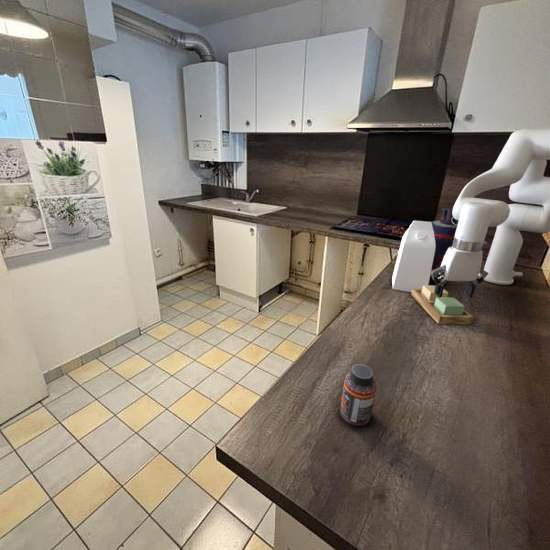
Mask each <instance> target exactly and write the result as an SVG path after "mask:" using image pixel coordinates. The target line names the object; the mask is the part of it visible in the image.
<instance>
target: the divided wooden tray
mask: <svg viewBox="0 0 550 550" xmlns="http://www.w3.org/2000/svg"><path fill="white" fill-rule="evenodd" d="M421 292H422V289H412V292H410V293H411V294H410V295H411V296H412V297H413V299H414V300H415V301H416V302H417V303H418V304H419V305H420V306H421V307H422V308H423V309H424V311H426V312H427V314H428V315H429V316H431V318H432V319H433V320H434V321H435V322H436V323H437V324H438V325H439V324H440V325H472V324H473V322H474V318H475V317H474V316H473V315H472V314H470V312H469V311H467V310H466V309H465V308H464V311H463V314H462V316H461V315H441V314H440V313H439V312H438V311H437V310H436V309H435V308H434V304H435V301H427V300H426V299H425V298H424V297H423V296H422V295H421ZM447 298H451V296H449V295H448V296H447Z"/></svg>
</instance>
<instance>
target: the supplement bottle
mask: <svg viewBox="0 0 550 550" xmlns="http://www.w3.org/2000/svg"><path fill="white" fill-rule="evenodd" d="M343 381H344V382H343V388H342V395H341V400H340V409H339V410H340V415H341V417H342V418H343V420H344V421H345V422H346V423H348V424H350V425H352V426H355V427H361V426H365V425H366V424H368V423H369V422H370V420H371V417H372V411H373V408H374V403H375V399H376V393H377V382H376V379H375V378H374V370H373V369H372V367H370V366H369V365H366V364H363V363H356V364H354V365H352V367H351V369H350V372H348V373H347V374H346V375H345V377H344V380H343Z"/></svg>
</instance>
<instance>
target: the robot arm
mask: <svg viewBox="0 0 550 550" xmlns="http://www.w3.org/2000/svg"><path fill="white" fill-rule="evenodd" d="M547 160H548V161H550V127H533V128H532V127H531V128H521V129H518V130H515V131H513V132H512V133H511V134H510V136H509V138H508V139H507V141H506V143H505V144H504V146H503V148H502V150H501V152H500V153H499V155H498V157H497V159H496V160H495V162H494V163H493V165H492V167H491V168H490V169H489V170H487V171H485V172H482V173H481V174H480V175H478V176H476V177H475V178H473V179H471V180H470V181H469V182H468V183H467V184H466V185H465V186H464V187H463V188H462V190H461V191H460V193H459V195H458V197H457V198H456V200H455V202H454V204H453V207H452V208H453V211H452V215H453V217H454V218H455V219H456V220H458V221H457V223H458V225H457V229H456V233H455V237H454V240H453V244H452V247H449V248H448V250H447V252H446V254H445V256H444V258H443V261H442V264H441V267H439V268H437V269H435V270H432V271H431V275H432V279H433V280H434V281H435V282H436V283H435V285H434V286H435V290H434V292H435V294H436V295H437V296H438V297H442V294H443V290H445V285H446V284H447V283H448V282H447V281H449V282H467V283H466V286H465V289H464V292H463V293H464V295H466V296H467V297H468V298H471V299H472V298H473V296H474V294H475V290H476V287H478V286H480V285H479V284H481V283H482V282H484V281H485V282H489V283H492V284H496V285H506V286H508V285H512V284H514V281H515V280H514V278H515V277H518V278H520V277H523V275H524V274H523V272H522V271H515V270H514V268H515V265H516V262H517V260H518V257H519V254H520V252H521V249H522V246H523V242H524V239H523V235H522V234H521V231H523V232H524V231H525V232H531V233H535V234H547V233H550V176H544V174H545V171H546V167H547ZM507 186H509V190H508V198H509V199H510V200H511V201H512V202H516V203H509V204H508V203H507V202H505V201H502V200H496V199H488V198H479V197H476V196H477V195H480V194H482V193H483V192H487V191H490V190H494V189H499V188H503V187H507ZM539 205H540V206H539ZM489 227H490V228H493V227H496V228H495V229H496V230H495V233H494V236H493V239H492V242H491V245H490V248H489V251H488V255H487V257H486V261H485V264H484V267H483V268H482V265H483V264H482V263H483V254H484V253H483V247H485V246H487V244H488V243H487V241H485V239H486V235H487V233H488V229H489ZM438 274H439V275H441V276H440V277H437V275H438ZM441 280H442V281H441ZM446 282H447V283H446ZM445 283H446V284H445ZM444 284H445V285H444Z"/></svg>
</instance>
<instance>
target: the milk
mask: <svg viewBox="0 0 550 550" xmlns="http://www.w3.org/2000/svg"><path fill="white" fill-rule="evenodd" d="M431 222H432V221H425V220H424V221H423V220H413V221H412V222H411V224H410V225H409V227H408V228H407V229H406V230H405V232H404V233H403V235H402V237H401V242H400V244H399V249H398V253H397V257H396V261H395V265H394V269H393V272H392V277H391V283H392V290H395V291H400V292H401V291H402V292H409V293H412V289H422V287H423V285H430V284H429V283H430V282H429V279H430V274H431V269H432V263H433V258H434V253H435V247H436V245H435V237H434V231H433V227H432V223H431Z"/></svg>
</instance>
